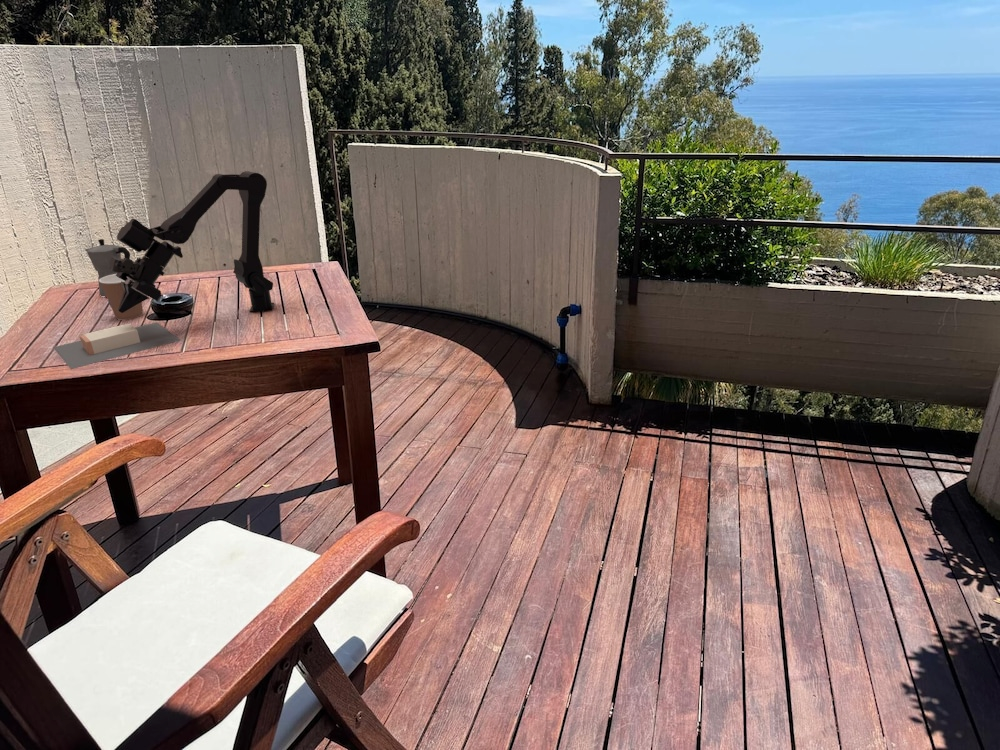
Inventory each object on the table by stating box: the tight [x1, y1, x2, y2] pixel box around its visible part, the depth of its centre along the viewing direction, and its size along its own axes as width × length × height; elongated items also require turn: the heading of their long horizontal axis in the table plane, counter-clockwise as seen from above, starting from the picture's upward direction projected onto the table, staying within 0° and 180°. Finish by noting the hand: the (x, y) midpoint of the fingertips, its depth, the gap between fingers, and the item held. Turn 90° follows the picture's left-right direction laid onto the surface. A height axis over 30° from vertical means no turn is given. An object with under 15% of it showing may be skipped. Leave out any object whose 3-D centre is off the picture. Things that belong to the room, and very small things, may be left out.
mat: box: [52, 321, 182, 370], centre depth 176 cm, size 26×20×1 cm
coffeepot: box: [84, 238, 131, 297], centre depth 214 cm, size 15×9×18 cm, turn 80°
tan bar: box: [78, 323, 140, 355], centre depth 174 cm, size 4×7×12 cm
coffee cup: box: [98, 274, 144, 321], centre depth 194 cm, size 10×10×12 cm
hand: (120, 311), depth 174 cm, fingers closed
